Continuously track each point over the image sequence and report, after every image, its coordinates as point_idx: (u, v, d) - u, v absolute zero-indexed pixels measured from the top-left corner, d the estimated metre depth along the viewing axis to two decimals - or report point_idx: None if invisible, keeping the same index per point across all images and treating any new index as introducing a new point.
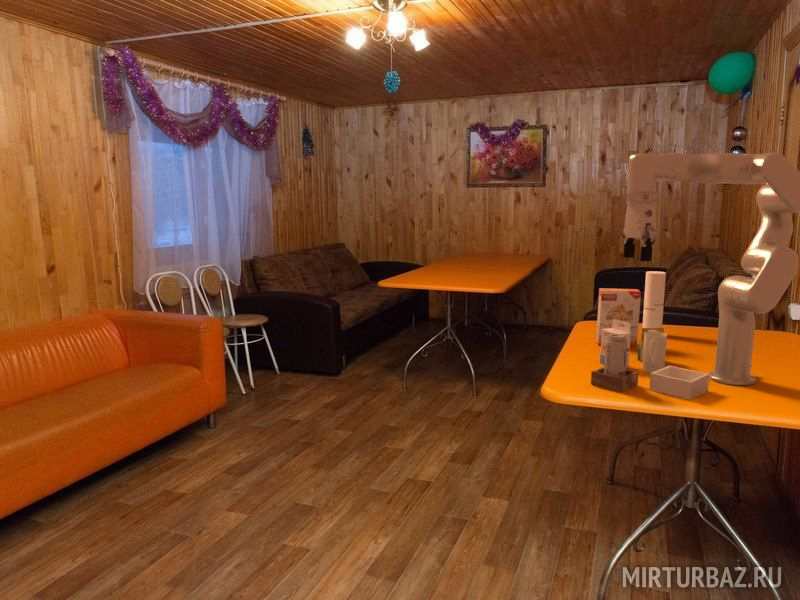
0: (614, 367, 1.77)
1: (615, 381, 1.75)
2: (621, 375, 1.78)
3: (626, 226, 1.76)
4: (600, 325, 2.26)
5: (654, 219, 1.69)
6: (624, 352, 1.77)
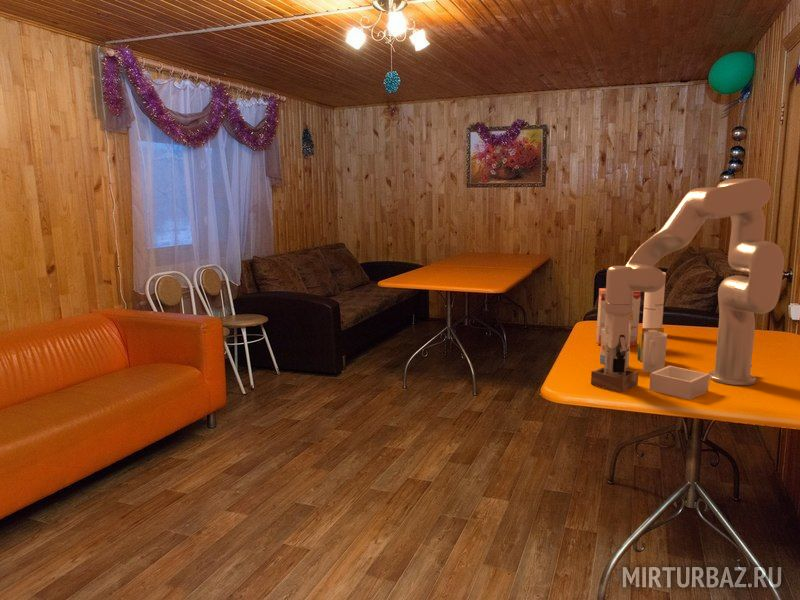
0: None
1: (615, 381, 1.75)
2: (621, 375, 1.78)
3: None
4: (600, 325, 2.26)
5: None
6: None
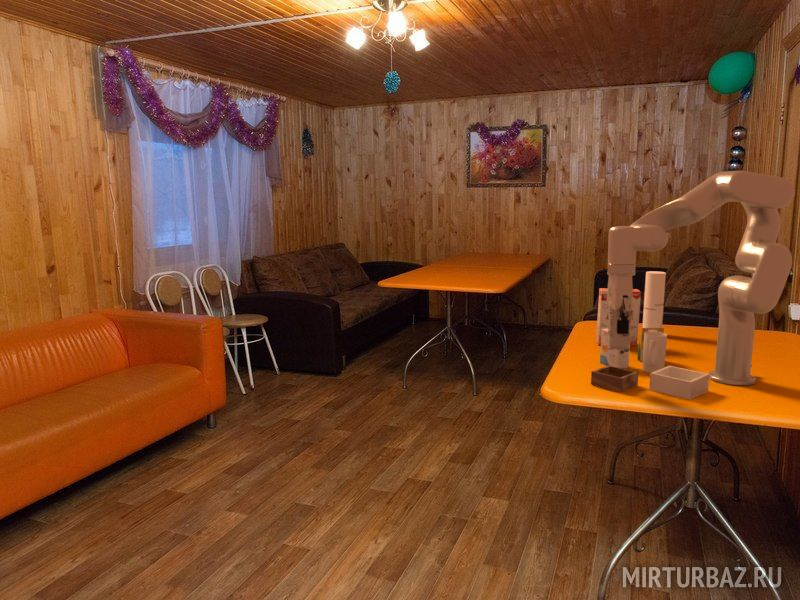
0: None
1: (615, 381, 1.75)
2: (626, 337, 1.76)
3: None
4: (600, 325, 2.26)
5: None
6: None
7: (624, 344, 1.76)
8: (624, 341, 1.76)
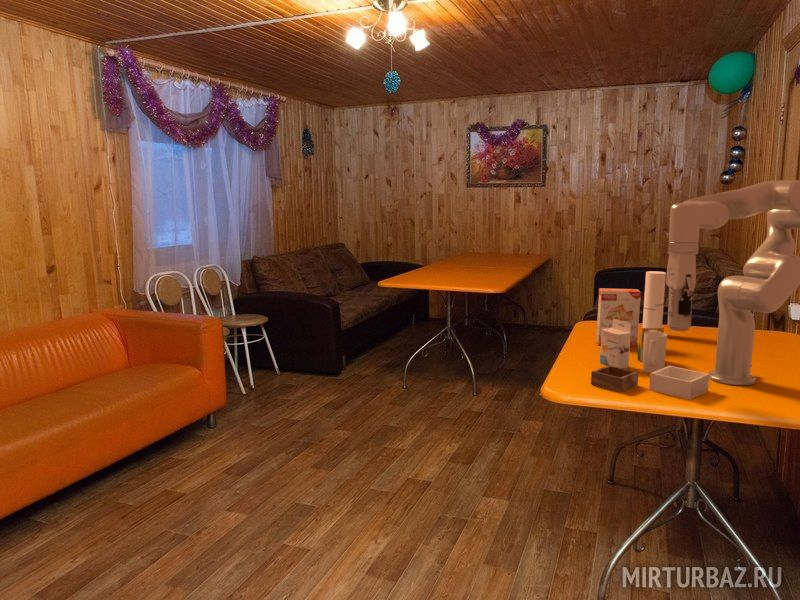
0: None
1: (615, 381, 1.75)
2: (687, 318, 1.70)
3: None
4: (600, 325, 2.26)
5: None
6: None
7: (686, 325, 1.70)
8: (685, 322, 1.70)
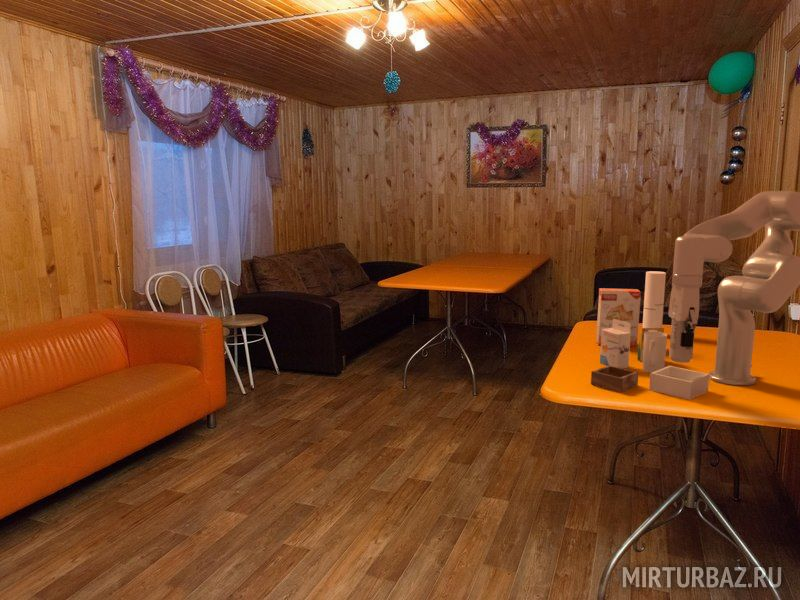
0: None
1: (615, 381, 1.75)
2: (689, 350, 1.71)
3: None
4: (600, 325, 2.26)
5: None
6: None
7: (688, 357, 1.71)
8: (687, 354, 1.71)
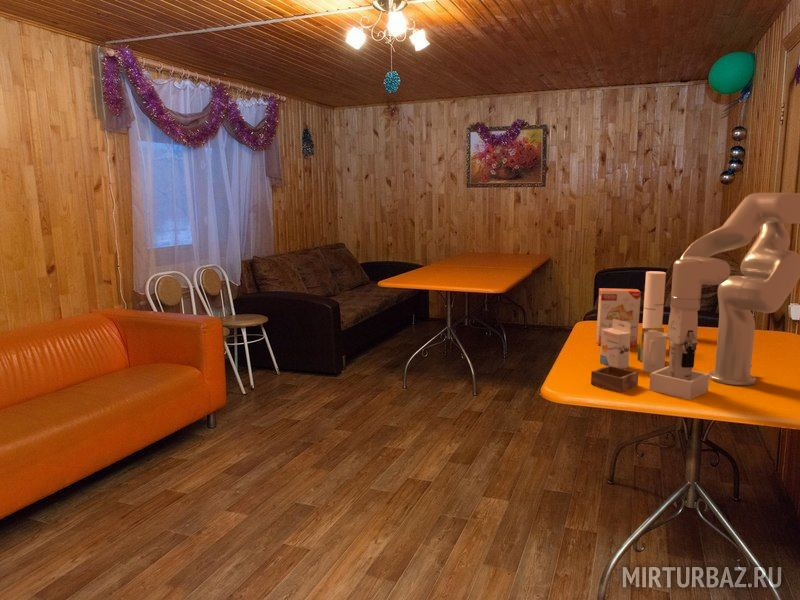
0: (680, 370, 1.72)
1: (615, 381, 1.75)
2: (688, 378, 1.72)
3: None
4: (600, 325, 2.26)
5: None
6: None
7: None
8: None
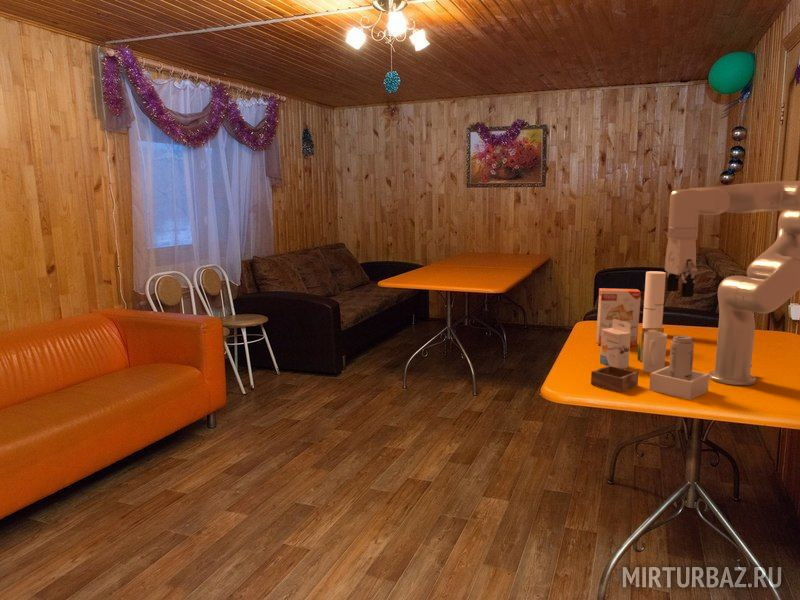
0: (681, 370, 1.72)
1: (615, 381, 1.75)
2: (688, 378, 1.72)
3: None
4: (600, 325, 2.26)
5: None
6: (690, 354, 1.71)
7: None
8: None
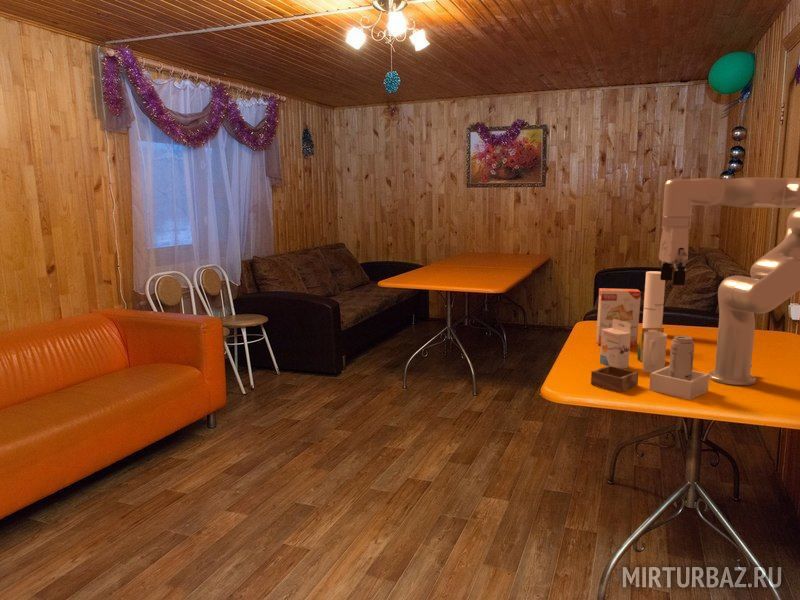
0: (681, 370, 1.72)
1: (615, 381, 1.75)
2: (688, 378, 1.72)
3: None
4: (600, 325, 2.26)
5: None
6: (691, 354, 1.71)
7: None
8: None
